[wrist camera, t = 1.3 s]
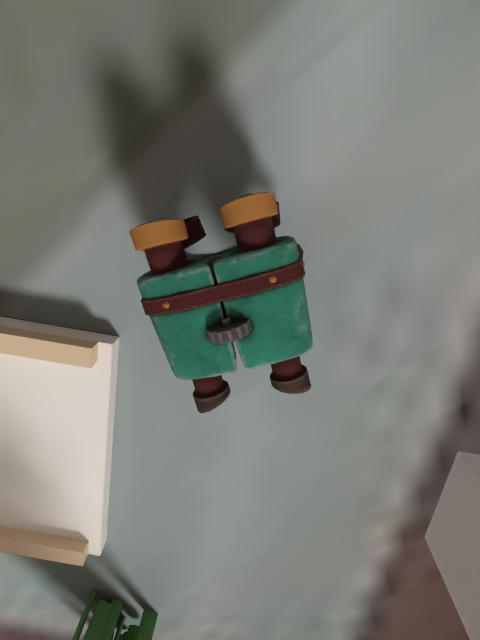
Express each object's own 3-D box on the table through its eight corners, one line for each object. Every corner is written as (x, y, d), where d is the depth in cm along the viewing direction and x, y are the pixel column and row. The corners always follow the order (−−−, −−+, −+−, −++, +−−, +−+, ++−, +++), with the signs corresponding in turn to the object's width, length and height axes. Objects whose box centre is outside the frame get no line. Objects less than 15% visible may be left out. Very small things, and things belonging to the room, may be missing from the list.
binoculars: (199, 358, 31) (169, 437, 21) (153, 217, 28) (95, 237, 18) (318, 331, 30) (342, 403, 20) (285, 180, 26) (295, 182, 17)
